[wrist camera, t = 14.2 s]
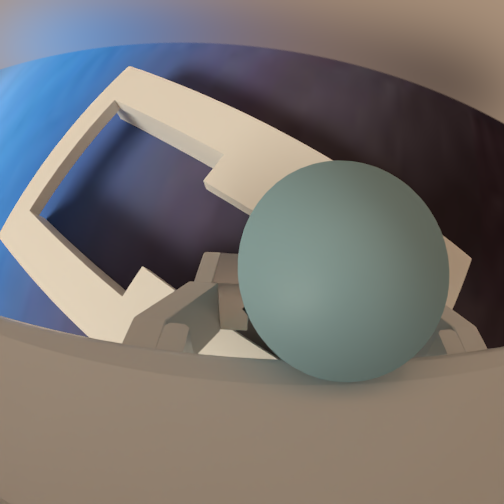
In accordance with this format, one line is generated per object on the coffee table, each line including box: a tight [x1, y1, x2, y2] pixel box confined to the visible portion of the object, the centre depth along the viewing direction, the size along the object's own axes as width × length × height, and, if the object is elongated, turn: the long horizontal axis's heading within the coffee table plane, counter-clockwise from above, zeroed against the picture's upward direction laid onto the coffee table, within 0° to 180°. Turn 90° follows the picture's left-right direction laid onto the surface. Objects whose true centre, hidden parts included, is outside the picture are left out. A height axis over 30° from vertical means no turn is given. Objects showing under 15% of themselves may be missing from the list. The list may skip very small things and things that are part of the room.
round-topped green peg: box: [236, 160, 449, 382], centre depth 10 cm, size 6×6×12 cm
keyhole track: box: [0, 66, 472, 360], centre depth 16 cm, size 24×14×3 cm, turn 57°
